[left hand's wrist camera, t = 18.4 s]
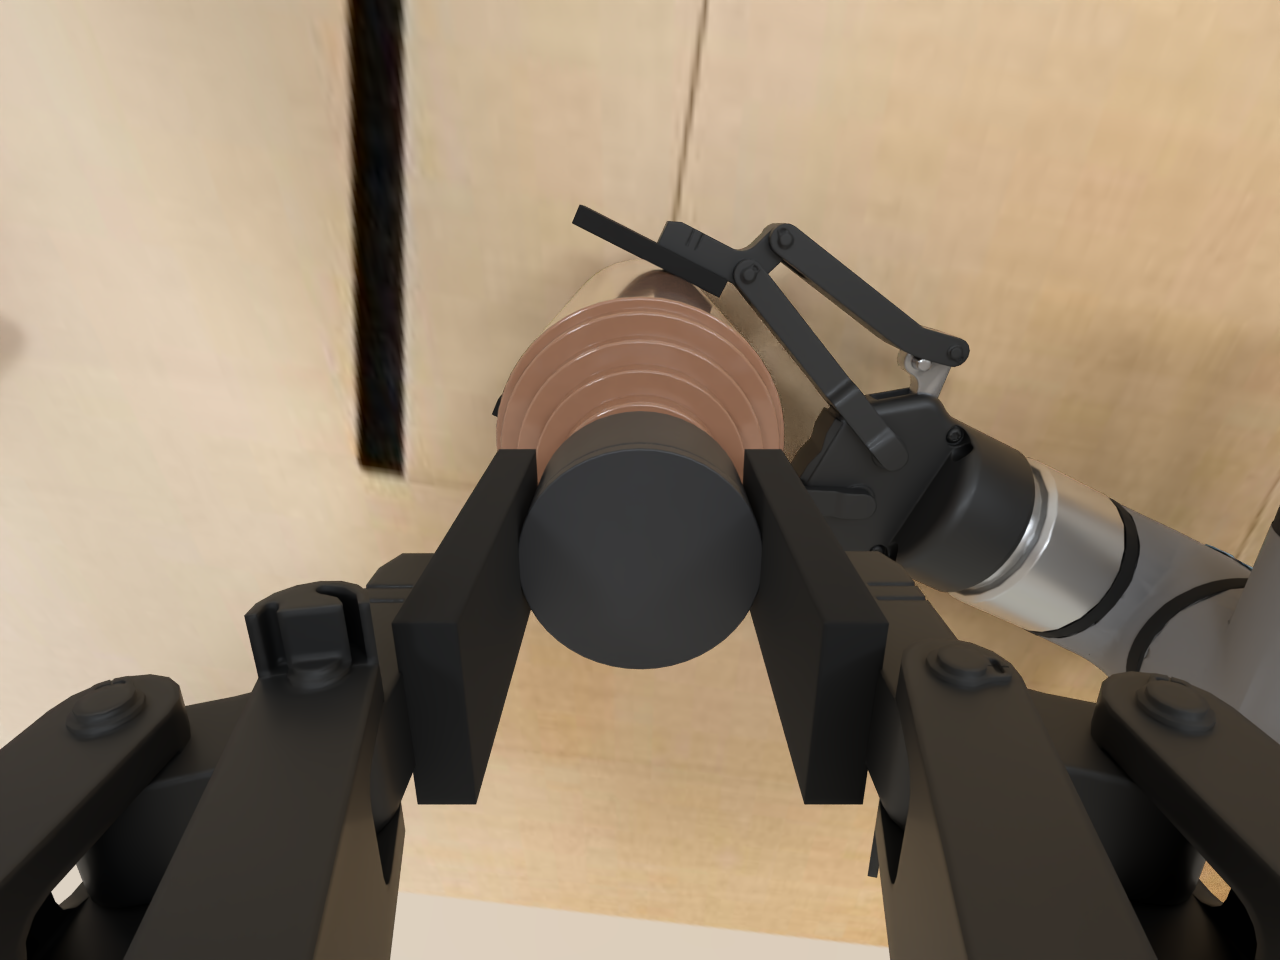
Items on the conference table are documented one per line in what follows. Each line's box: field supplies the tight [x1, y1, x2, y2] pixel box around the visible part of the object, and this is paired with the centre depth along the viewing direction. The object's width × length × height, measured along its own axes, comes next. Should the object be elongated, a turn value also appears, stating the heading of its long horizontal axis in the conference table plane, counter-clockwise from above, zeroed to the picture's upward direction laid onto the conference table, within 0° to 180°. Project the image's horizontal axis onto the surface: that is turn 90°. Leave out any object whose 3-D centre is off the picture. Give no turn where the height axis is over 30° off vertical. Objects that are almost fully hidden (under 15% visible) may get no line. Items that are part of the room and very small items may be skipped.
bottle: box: [496, 259, 784, 485], centre depth 24 cm, size 8×8×25 cm
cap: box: [518, 411, 762, 669], centre depth 13 cm, size 4×4×2 cm
